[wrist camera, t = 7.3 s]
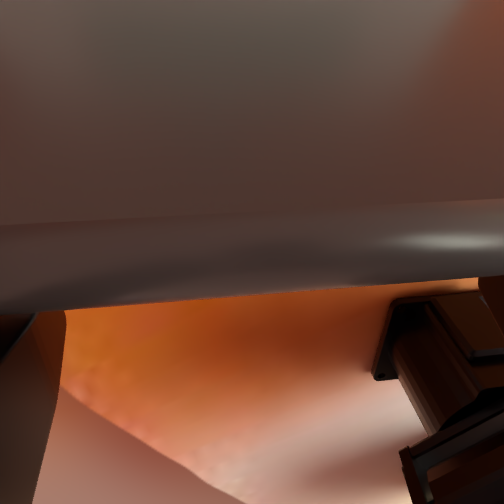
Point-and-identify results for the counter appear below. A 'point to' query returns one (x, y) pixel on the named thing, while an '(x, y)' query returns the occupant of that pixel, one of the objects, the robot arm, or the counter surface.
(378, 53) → the lever
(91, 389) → the counter surface
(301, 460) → the counter surface
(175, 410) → the counter surface
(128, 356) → the counter surface
